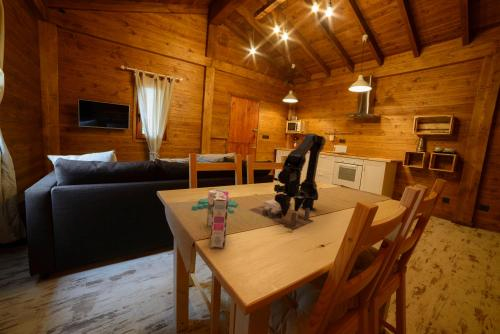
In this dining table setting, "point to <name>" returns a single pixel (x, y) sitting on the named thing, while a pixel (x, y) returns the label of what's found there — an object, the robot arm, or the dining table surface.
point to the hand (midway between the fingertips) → (290, 214)
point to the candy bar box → (219, 220)
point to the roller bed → (278, 218)
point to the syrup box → (211, 205)
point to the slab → (273, 204)
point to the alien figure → (204, 204)
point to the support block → (289, 215)
